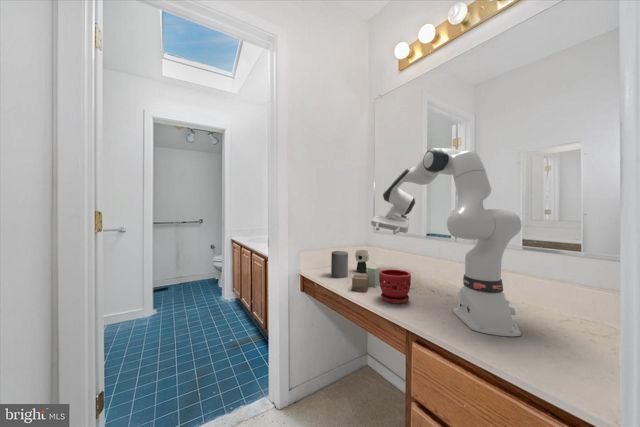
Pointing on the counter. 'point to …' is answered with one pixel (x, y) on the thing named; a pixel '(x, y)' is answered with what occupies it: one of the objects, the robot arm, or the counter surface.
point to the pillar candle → (339, 264)
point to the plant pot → (395, 285)
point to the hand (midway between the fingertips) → (385, 231)
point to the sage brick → (373, 276)
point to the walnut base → (360, 283)
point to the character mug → (361, 260)
